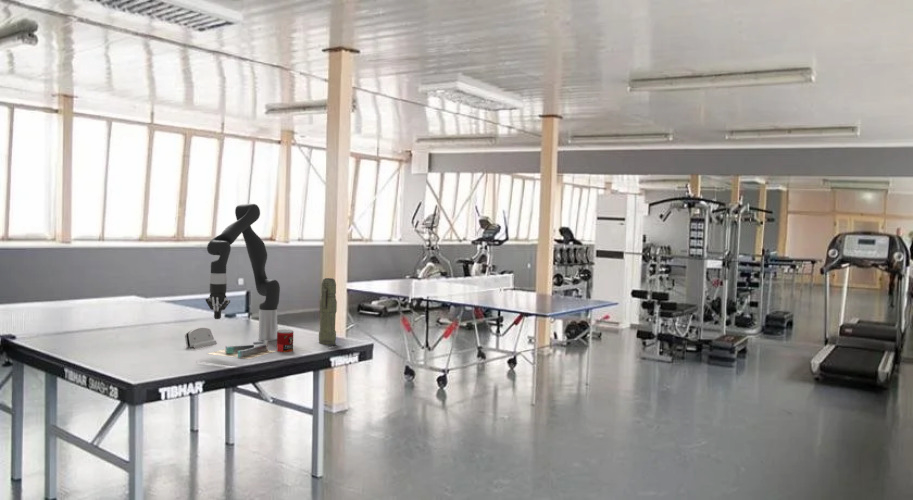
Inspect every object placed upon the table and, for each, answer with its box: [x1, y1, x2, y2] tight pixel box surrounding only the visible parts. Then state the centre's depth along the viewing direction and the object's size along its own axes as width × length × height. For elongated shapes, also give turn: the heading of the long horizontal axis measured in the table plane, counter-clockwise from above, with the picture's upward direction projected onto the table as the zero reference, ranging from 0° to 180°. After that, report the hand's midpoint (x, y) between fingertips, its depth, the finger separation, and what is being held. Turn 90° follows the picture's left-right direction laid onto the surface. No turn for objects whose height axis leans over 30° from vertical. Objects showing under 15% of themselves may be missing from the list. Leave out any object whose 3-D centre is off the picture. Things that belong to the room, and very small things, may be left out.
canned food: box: [276, 329, 294, 353], centre depth 333 cm, size 8×8×11 cm
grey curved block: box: [184, 327, 218, 350], centre depth 345 cm, size 17×5×10 cm, turn 159°
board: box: [207, 348, 277, 360], centre depth 325 cm, size 21×24×1 cm
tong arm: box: [224, 341, 264, 354], centre depth 325 cm, size 18×3×4 cm, turn 123°
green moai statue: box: [318, 277, 338, 347], centre depth 359 cm, size 9×12×35 cm
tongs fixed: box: [237, 340, 269, 359], centre depth 323 cm, size 20×3×5 cm, turn 161°
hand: (217, 318), depth 324 cm, fingers closed
